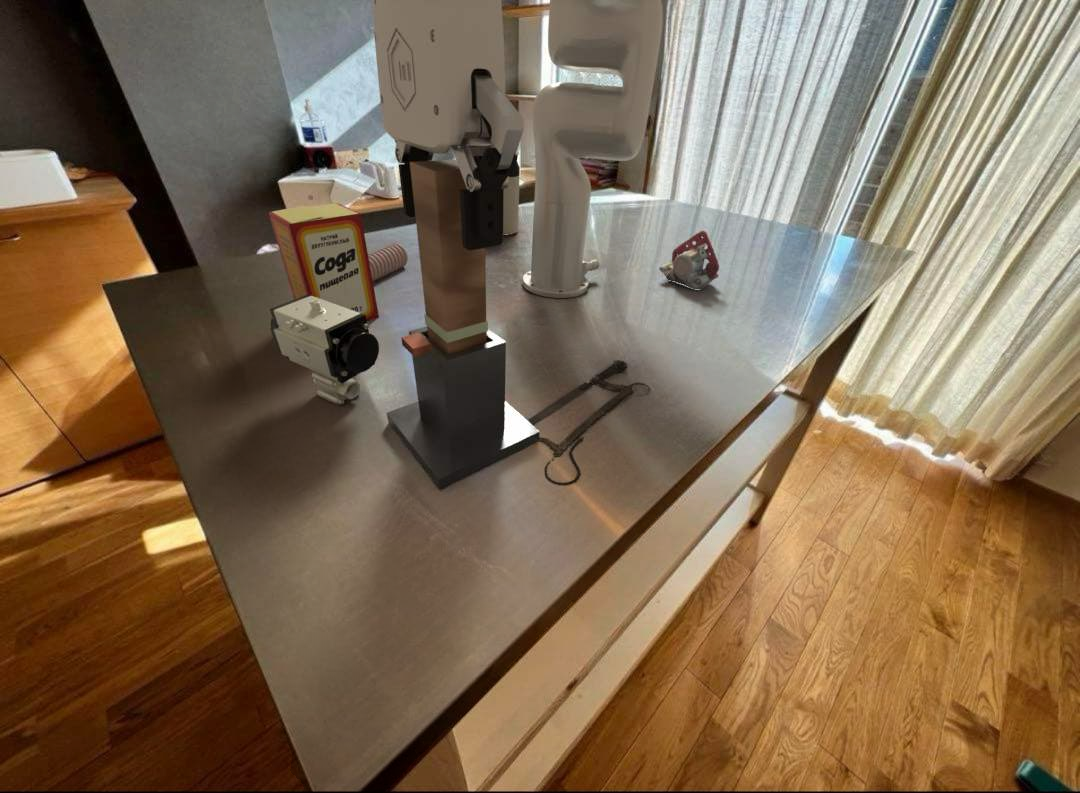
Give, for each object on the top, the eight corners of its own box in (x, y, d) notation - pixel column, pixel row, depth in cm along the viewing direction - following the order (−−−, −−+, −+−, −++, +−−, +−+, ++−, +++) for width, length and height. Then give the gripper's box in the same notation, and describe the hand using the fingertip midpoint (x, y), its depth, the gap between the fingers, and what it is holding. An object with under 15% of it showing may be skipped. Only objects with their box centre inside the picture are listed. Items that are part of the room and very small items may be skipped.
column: (466, 349, 45) (457, 159, 35) (488, 367, 42) (485, 168, 32) (429, 360, 43) (407, 161, 32) (450, 380, 40) (434, 171, 30)
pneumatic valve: (322, 371, 56) (296, 281, 49) (390, 401, 52) (373, 308, 45) (283, 392, 52) (249, 298, 45) (354, 426, 48) (329, 329, 41)
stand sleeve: (480, 388, 55) (477, 293, 47) (538, 441, 47) (546, 338, 40) (388, 423, 48) (368, 319, 41) (439, 490, 41) (427, 379, 34)
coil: (344, 275, 71) (410, 245, 85) (321, 266, 72) (390, 238, 86) (347, 300, 74) (411, 268, 87) (325, 292, 75) (391, 261, 88)
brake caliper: (732, 274, 88) (728, 233, 79) (700, 313, 87) (692, 276, 78) (687, 259, 94) (679, 219, 85) (657, 294, 93) (646, 258, 84)
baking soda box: (358, 303, 72) (337, 200, 63) (378, 317, 69) (360, 210, 59) (300, 319, 66) (267, 209, 57) (319, 335, 63) (287, 220, 54)
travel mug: (516, 237, 107) (519, 154, 96) (484, 235, 107) (483, 151, 96) (518, 228, 113) (521, 149, 102) (488, 226, 113) (487, 147, 102)
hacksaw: (617, 364, 62) (619, 355, 61) (682, 395, 57) (684, 385, 56) (492, 442, 48) (492, 432, 47) (563, 494, 42) (565, 484, 41)
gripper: (316, -70, 28) (364, 209, 38) (447, -137, 18) (465, 272, 28) (423, -46, 32) (441, 201, 42) (582, -89, 22) (554, 253, 32)
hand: (450, 229), depth 35 cm, fingers open, 9 cm apart
